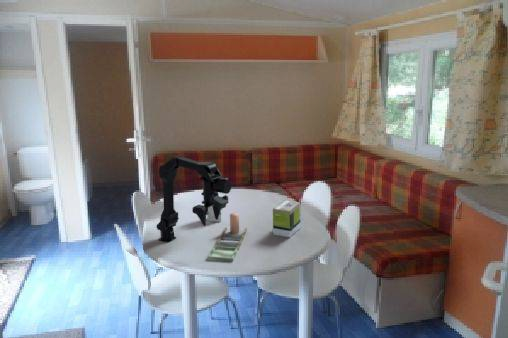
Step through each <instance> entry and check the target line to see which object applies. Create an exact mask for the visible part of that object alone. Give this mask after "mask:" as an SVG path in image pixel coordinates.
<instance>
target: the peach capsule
mask: <svg viewBox="0 0 508 338" xmlns="http://www.w3.org/2000/svg"><path fill="white" fill-rule="evenodd" d="M229 225H230V226H229V230H230V231H229V232H230V233H229V234H240V213H238V212H233V213H232V212H231V213H230V214H229Z"/></svg>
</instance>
